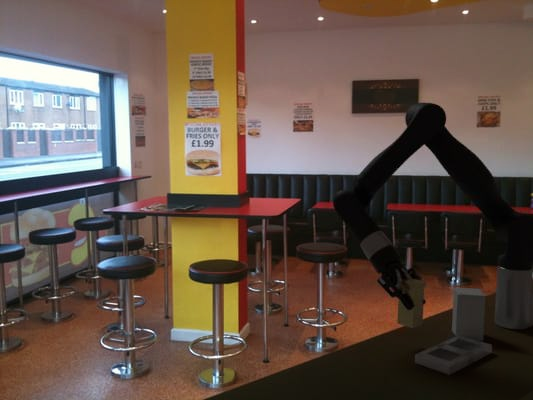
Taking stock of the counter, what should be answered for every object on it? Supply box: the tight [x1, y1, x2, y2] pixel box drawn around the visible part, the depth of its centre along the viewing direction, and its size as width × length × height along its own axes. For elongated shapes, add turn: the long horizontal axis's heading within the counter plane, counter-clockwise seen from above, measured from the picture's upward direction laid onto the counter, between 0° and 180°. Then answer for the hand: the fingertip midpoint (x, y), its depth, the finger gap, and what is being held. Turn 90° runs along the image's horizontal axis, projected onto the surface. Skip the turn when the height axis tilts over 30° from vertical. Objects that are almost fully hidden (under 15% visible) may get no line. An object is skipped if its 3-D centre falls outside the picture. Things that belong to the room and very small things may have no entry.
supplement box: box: [451, 287, 486, 342], centre depth 150 cm, size 7×7×13 cm
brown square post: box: [397, 278, 427, 329], centre depth 140 cm, size 5×5×11 cm
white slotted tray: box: [414, 335, 493, 376], centre depth 133 cm, size 20×9×3 cm, turn 131°
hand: (417, 306), depth 139 cm, fingers closed on brown square post, 4 cm apart
